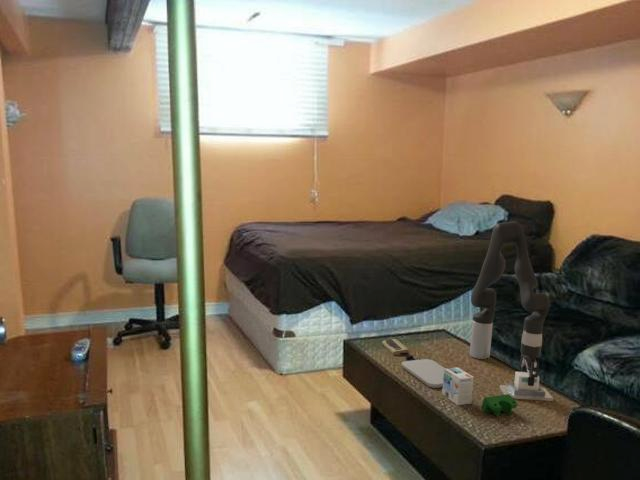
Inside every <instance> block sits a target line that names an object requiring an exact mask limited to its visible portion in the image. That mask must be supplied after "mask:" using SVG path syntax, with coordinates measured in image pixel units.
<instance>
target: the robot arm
mask: <svg viewBox="0 0 640 480" xmlns="http://www.w3.org/2000/svg"><path fill="white" fill-rule="evenodd" d="M510 244H514V245H515V247H516V251H517V252H516V258H515V263H514V274H515V278H516V280H517V282H518V285H519V293H520V302H521V305H522V307H523V308H524V309H523V310H525V311H527V312H529V313H531V314H530V315H527V316H526V317H524V319H523V330H522V334H521V341H520V343H521V344H520V353H521V354H520V360H519V363H520V368H521V372H528V375H529V376H528V386H534V379H535V377H536V378H537V377H538V376H539V362H537V360H536V359H537V358H538V357H540V356H541V351H542V345H543V328H544V322H545V320H546V318H547V315H548V313H549V310H550V307H551V302H550V298H549V296H548V295H547V294H546V293H544V292H543V293H542V292H541V293H540V292H538V293H536V292H535V293H534V292H533V289H534V290H535V289H536V288H537V287H538V285H539V282H538V279H537V276H536V274H535V272H534V269H533V266H532V264H531V259H530V255H529V252H528V246H527V241H526V238H525V233H524V230H523V227H522V225H521V224H520V223H519V222H518V221H505V222H498V223H496V224H495V225H494V226H493V229H492V233H491V236H490V242H489V245H488V250H487V253H486V255H485V258H484V260H483V264H482V266H481V270H480V273H479V277H478V279H477V280H476V283H475V285H474V287H473V289H472V292H471V295H470V296H471V297H470V302H471V305H472V306H473V307H475V308H484V309H483V310H481V311H478V312H475V313H474V314H473V315H472V325H471V335H470V336H471V337H470V345H469V346H470V347H469V356H470V357H472V358H474V359H479V360H488V359H490V358H491V357H490V356H491V348H492V347H491V345H492V336H493V335H492V334H493V324H494V316H495V309H496V303H497V292H496V290H495V289H494V288H491V287H490V286H491V285H493V284H494V283H496V282H498V281H499V280H500V279H501V278H502V276H503V274H504V271H505V269H506V266H507V264H506V258H505V257H504V255H503V254H502V252H501V250H502V249H503V246H505V245H510ZM487 358H488V359H487Z"/></svg>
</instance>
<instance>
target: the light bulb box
mask: <svg viewBox="0 0 640 480" xmlns="http://www.w3.org/2000/svg"><path fill="white" fill-rule="evenodd" d="M474 378H475V376H473V375H471V374H470V373H468V372H466V371H465V370H463V369H462V368H460V367H458V366H457V367H449V368H446V369H444V378H443V387H442V389H441V391H442V392H441V395H443V396H444V397H445V398H446V399H448V400H449V401H451V402H452V403H454V404H455V405H456V406H461V405H463V406H464V405H468V404H472V399H473V398H472V397H473V391H474V390H473V388H474Z"/></svg>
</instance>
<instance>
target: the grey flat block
mask: <svg viewBox="0 0 640 480" xmlns="http://www.w3.org/2000/svg"><path fill="white" fill-rule="evenodd" d="M499 389H500V391H501V392H502V393H503V395H506V394H509V395H510V396H511V397H512V398H513V399H514V400H517V399H518V400H519V399H520V400H534V401H543V402H544V401H545V402H546V401H547V402H553V401H554V397H553V396H552V395H551V393H549V392H548V390H547V389H546V388H545V387H542V386H541V385H540V384H539V389H538V391H537V390H522V389H516V387H515V386H514V381H512V380H511V381H510V380H509V381H508V384H507V385H506V384H505V385H504V384H499Z"/></svg>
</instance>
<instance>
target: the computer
mask: <svg viewBox="0 0 640 480" xmlns="http://www.w3.org/2000/svg"><path fill="white" fill-rule="evenodd" d="M381 345H383V347H384V348H385V349H387V351H389V352H390V353H391V354H392V355H393V356H403V355H405V356H407V355H408V356H409V354H410V350H409V349H408V348H407V347H406V346H405V345H404V344H403V343H401V342H400V341H399V339H397V338H391V339H386V340H382V342H381Z"/></svg>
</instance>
